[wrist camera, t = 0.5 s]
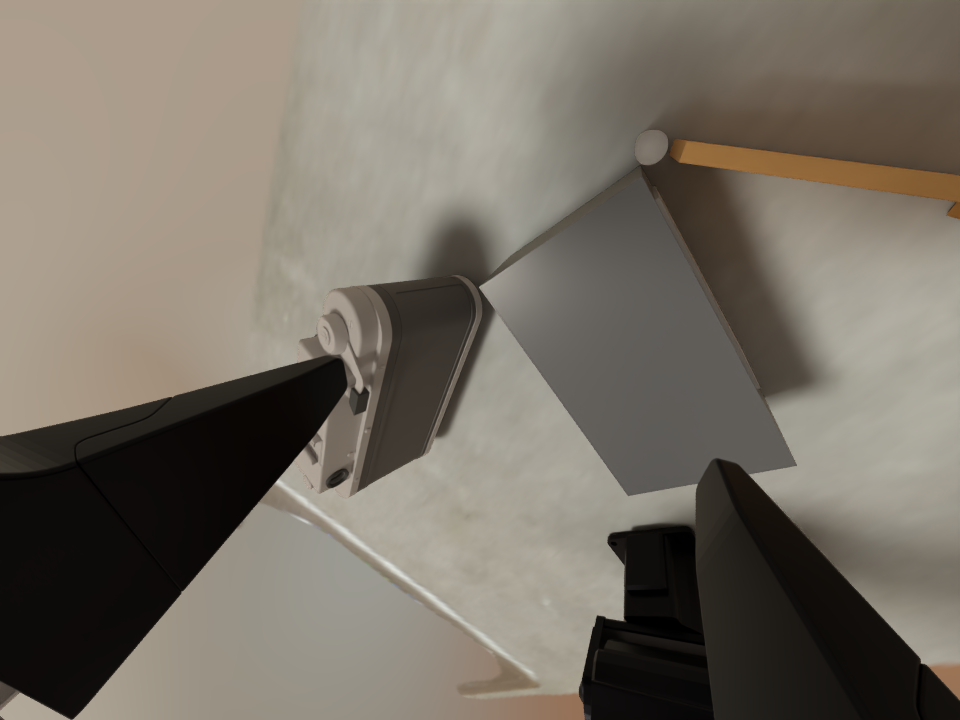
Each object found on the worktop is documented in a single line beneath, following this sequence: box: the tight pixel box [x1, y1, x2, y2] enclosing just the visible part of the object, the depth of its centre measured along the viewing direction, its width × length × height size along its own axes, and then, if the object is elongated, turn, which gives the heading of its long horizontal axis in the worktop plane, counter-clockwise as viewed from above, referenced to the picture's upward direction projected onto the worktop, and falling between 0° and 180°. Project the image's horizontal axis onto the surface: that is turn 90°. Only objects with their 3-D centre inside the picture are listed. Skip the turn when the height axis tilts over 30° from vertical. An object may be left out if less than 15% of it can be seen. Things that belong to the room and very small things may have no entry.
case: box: [479, 130, 797, 496], centre depth 18 cm, size 15×9×5 cm, turn 38°
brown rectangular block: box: [669, 139, 960, 219], centre depth 13 cm, size 11×1×5 cm, turn 83°
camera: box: [294, 275, 482, 498], centre depth 24 cm, size 9×16×10 cm, turn 162°
